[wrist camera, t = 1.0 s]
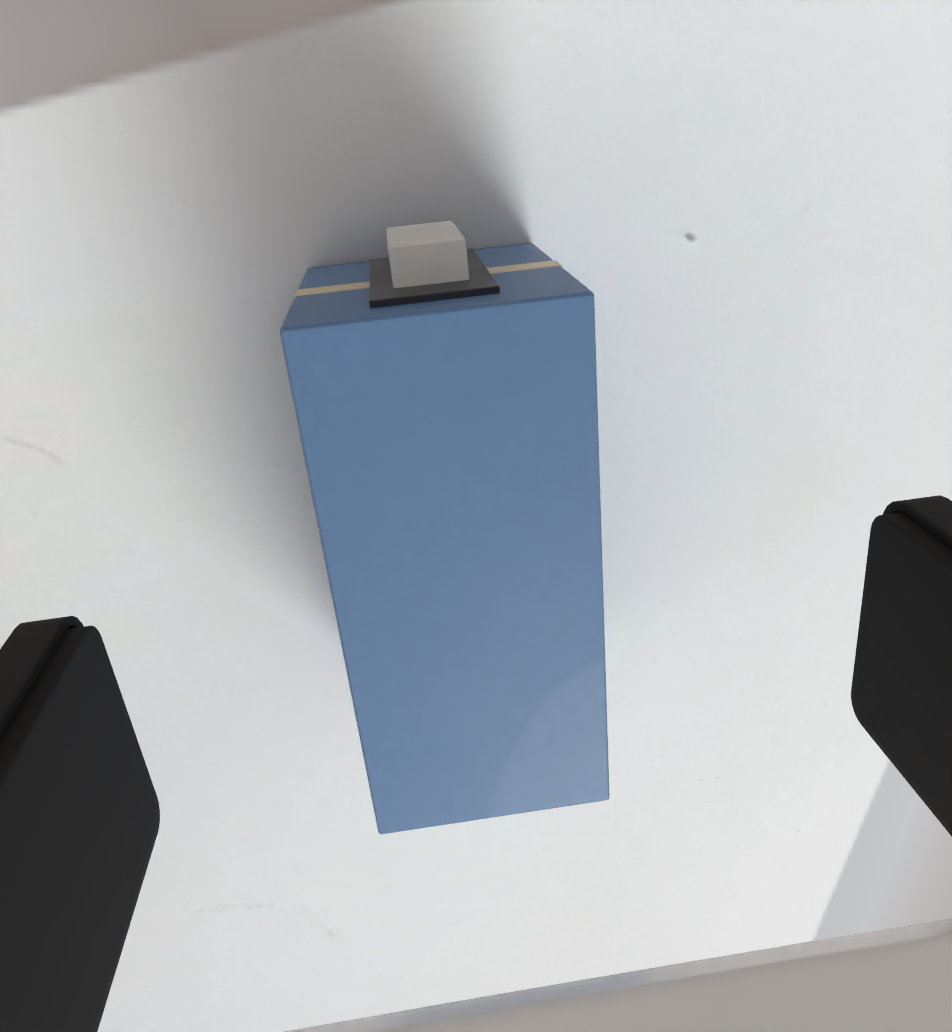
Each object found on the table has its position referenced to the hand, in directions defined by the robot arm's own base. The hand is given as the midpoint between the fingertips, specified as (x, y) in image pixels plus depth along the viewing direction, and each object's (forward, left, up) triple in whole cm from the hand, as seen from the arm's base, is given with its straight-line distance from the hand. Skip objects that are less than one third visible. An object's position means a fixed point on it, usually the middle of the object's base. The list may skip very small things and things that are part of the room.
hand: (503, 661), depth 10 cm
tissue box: (+3, 0, -14) cm, 15 cm away
